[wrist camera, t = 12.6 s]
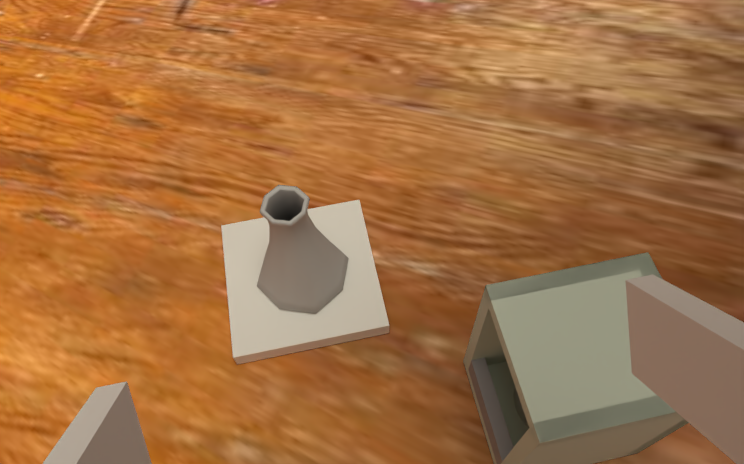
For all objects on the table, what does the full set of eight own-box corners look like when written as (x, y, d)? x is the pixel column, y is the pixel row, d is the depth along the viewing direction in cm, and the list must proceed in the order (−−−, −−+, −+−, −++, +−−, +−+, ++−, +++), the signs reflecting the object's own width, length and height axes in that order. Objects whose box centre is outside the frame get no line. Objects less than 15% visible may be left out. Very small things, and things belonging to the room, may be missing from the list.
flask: (241, 292, 48) (208, 225, 39) (288, 223, 51) (267, 147, 42) (320, 329, 46) (303, 268, 37) (363, 255, 49) (357, 183, 41)
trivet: (359, 209, 53) (359, 199, 52) (389, 332, 47) (389, 325, 46) (225, 234, 52) (221, 225, 51) (237, 364, 46) (233, 357, 45)
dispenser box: (587, 334, 46) (648, 252, 35) (637, 453, 42) (725, 400, 31) (463, 361, 46) (485, 285, 35) (500, 485, 41) (539, 442, 30)
